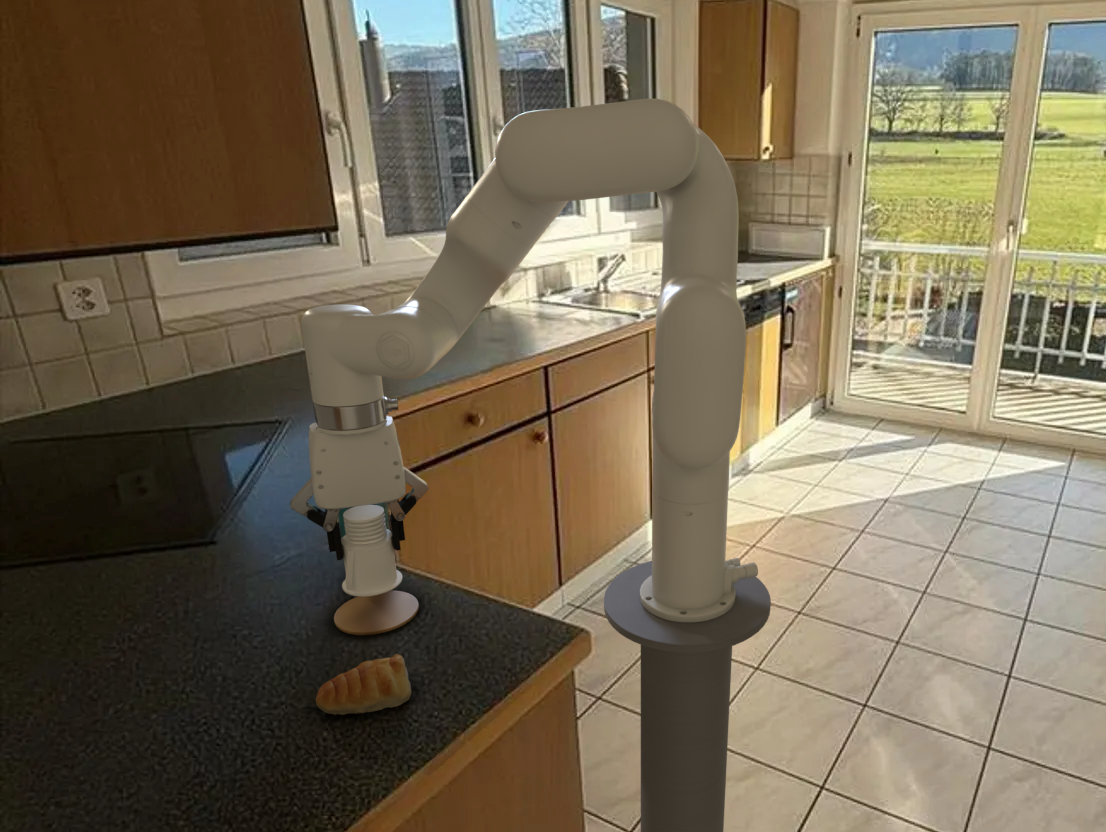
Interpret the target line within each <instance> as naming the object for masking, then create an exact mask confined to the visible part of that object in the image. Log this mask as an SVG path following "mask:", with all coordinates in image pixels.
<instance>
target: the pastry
mask: <svg viewBox="0 0 1106 832" xmlns="http://www.w3.org/2000/svg"><path fill="white" fill-rule="evenodd" d="M411 696H412V687H411V682H410V680H409V673H408V669H407V666H406V663H405V659H404V657H403V656H402V655H401V654H399V653H395V654H394V655H393V656H392V657H384V658H375V659H373V660H365V661H363V662H361V663H360V664H358V665H357V666H356V667H354V668H352V669H350V670H348V671H346V672H342V673H339V674H338V675H337V676H335V677H333V678H331V679H329V680H328V681H326V682H324V683H323V684H322V685H321V686H320V687H319V689H318V691H317V693H316V697H315V704H316V706H317V708H318V709H319V710H321V711H323V712H324V713H326V714H331V715H334V716H336V715H342V716H345V715H346V714H356V715H359V714H365V713H371V712H376V711H382V710H383V709H386V708H395V707H398V706H401V705H403V704H404V703H406V702H407V701H409V700H410V698H411Z"/></svg>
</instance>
